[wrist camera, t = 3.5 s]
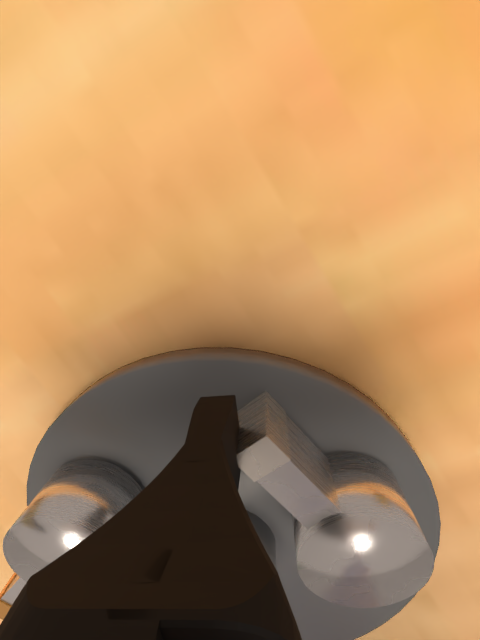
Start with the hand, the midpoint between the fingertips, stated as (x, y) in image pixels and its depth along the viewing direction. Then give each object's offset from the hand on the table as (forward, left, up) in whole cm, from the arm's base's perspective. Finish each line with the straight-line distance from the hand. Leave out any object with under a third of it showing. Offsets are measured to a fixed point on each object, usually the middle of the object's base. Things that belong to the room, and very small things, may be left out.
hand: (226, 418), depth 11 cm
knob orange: (-7, +8, -1) cm, 10 cm away
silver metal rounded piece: (-4, -3, -1) cm, 5 cm away
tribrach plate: (-8, +1, -3) cm, 9 cm away
